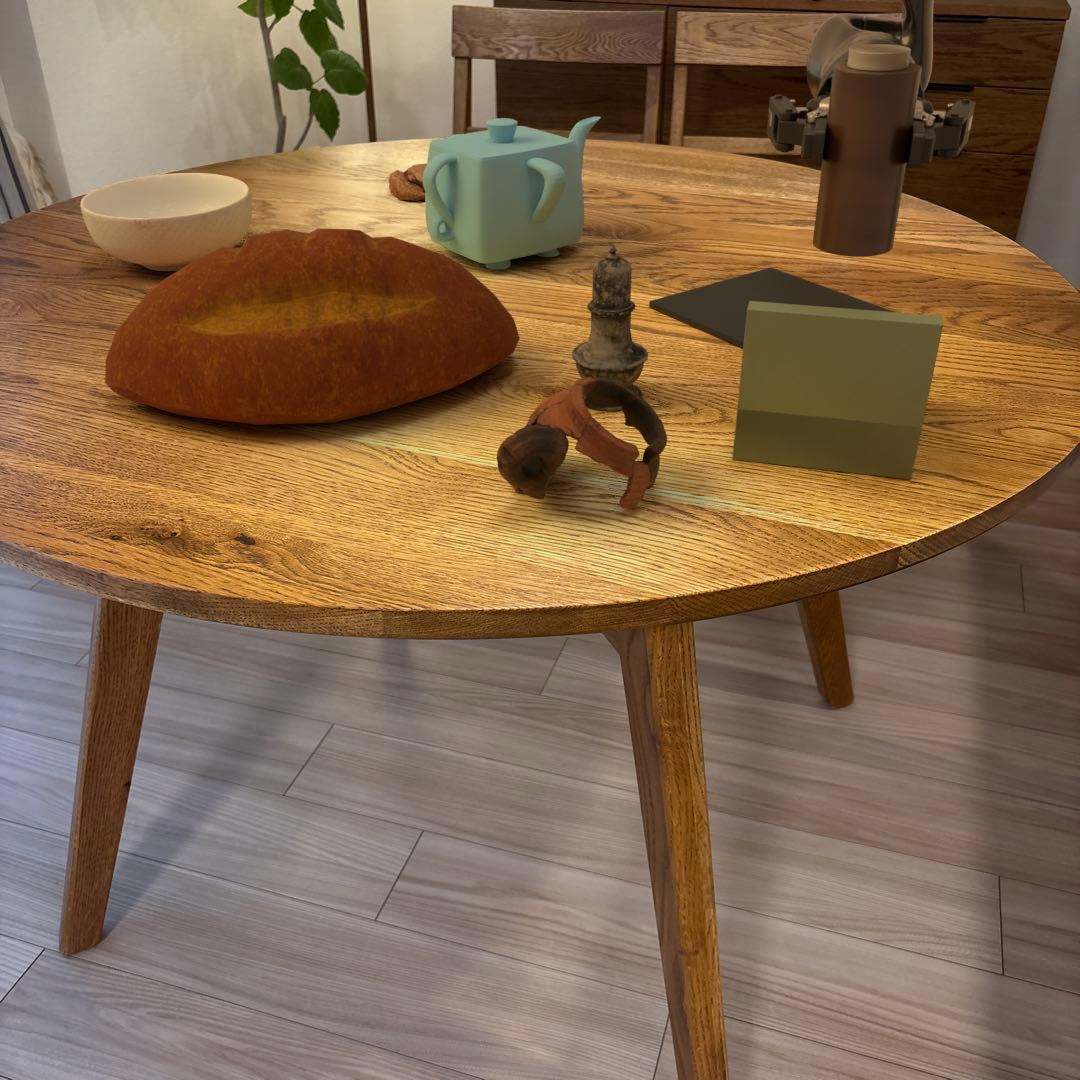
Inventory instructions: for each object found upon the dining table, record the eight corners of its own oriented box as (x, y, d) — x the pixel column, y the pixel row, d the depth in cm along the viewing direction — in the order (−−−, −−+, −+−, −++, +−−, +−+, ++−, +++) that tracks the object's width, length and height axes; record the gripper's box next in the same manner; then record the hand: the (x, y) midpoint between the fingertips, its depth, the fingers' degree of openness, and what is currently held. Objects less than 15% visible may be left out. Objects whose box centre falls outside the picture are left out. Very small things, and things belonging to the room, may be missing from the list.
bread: (543, 420, 78) (541, 258, 72) (89, 462, 74) (41, 293, 67) (502, 319, 96) (498, 181, 89) (133, 348, 91) (98, 204, 84)
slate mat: (770, 272, 105) (770, 267, 105) (898, 319, 94) (899, 313, 94) (648, 307, 98) (649, 301, 97) (772, 362, 87) (773, 355, 86)
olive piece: (748, 388, 82) (763, 251, 76) (906, 404, 80) (934, 263, 74) (732, 459, 73) (747, 309, 67) (911, 479, 70) (943, 325, 64)
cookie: (468, 202, 128) (467, 177, 127) (383, 203, 129) (381, 178, 127) (474, 181, 137) (473, 158, 135) (394, 182, 137) (392, 158, 135)
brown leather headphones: (559, 442, 76) (618, 358, 71) (638, 537, 73) (706, 456, 68) (440, 464, 67) (498, 369, 63) (525, 573, 64) (593, 482, 59)
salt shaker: (558, 389, 83) (557, 239, 76) (621, 374, 85) (626, 227, 78) (594, 418, 78) (597, 262, 72) (660, 402, 81) (669, 249, 74)
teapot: (560, 283, 104) (561, 142, 96) (406, 271, 107) (395, 134, 100) (599, 230, 118) (602, 104, 111) (462, 221, 122) (456, 98, 115)
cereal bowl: (61, 278, 107) (42, 209, 103) (157, 231, 120) (143, 168, 116) (205, 293, 103) (191, 221, 99) (288, 242, 116) (278, 177, 112)
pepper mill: (848, 228, 73) (874, 39, 66) (909, 246, 69) (943, 48, 62) (796, 243, 70) (817, 48, 64) (856, 262, 67) (885, 58, 60)
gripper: (775, 41, 77) (754, 82, 63) (981, 44, 74) (1005, 88, 60) (765, 147, 81) (743, 207, 68) (960, 154, 78) (978, 218, 64)
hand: (867, 150), depth 64 cm, fingers closed on pepper mill, 5 cm apart
